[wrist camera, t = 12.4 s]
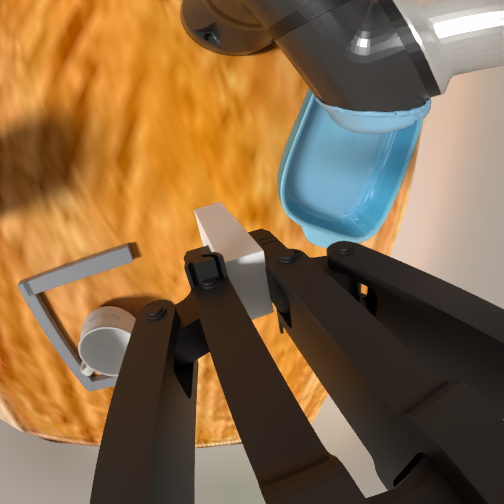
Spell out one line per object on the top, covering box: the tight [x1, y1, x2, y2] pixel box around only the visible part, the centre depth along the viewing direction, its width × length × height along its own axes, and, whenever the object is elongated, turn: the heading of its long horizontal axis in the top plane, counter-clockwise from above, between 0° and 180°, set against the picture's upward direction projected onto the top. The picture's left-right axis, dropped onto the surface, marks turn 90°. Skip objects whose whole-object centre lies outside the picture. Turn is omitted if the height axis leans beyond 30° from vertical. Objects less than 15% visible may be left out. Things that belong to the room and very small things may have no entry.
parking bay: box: [17, 243, 134, 392], centre depth 44 cm, size 21×26×2 cm
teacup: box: [78, 306, 136, 376], centre depth 41 cm, size 14×11×8 cm
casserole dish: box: [277, 88, 423, 248], centre depth 41 cm, size 37×22×7 cm, turn 159°
